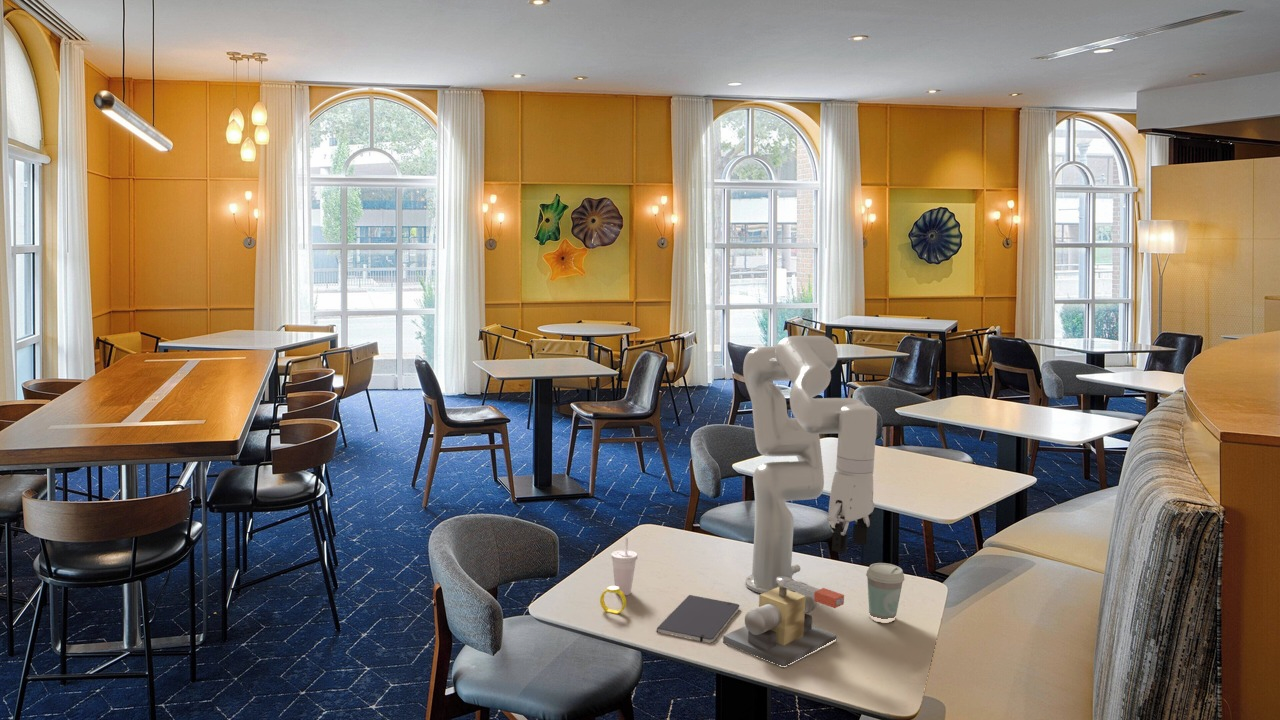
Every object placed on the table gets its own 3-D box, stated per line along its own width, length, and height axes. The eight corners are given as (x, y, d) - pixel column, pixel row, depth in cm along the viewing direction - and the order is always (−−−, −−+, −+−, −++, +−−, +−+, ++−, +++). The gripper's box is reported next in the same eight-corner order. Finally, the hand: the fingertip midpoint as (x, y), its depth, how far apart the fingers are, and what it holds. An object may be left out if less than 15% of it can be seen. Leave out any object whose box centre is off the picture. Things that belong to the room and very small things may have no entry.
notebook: (689, 600, 223) (656, 634, 204) (689, 594, 223) (656, 627, 204) (740, 610, 219) (711, 646, 199) (740, 604, 218) (712, 639, 199)
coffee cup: (880, 628, 210) (884, 577, 208) (855, 614, 217) (858, 564, 216) (909, 622, 214) (913, 572, 212) (883, 608, 221) (887, 560, 220)
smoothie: (625, 599, 221) (627, 542, 219) (604, 592, 225) (606, 536, 223) (641, 591, 226) (643, 536, 224) (620, 585, 230) (622, 530, 228)
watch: (599, 613, 214) (598, 588, 213) (604, 609, 216) (603, 584, 216) (623, 616, 211) (622, 591, 211) (627, 612, 214) (627, 586, 213)
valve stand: (776, 618, 213) (779, 566, 212) (836, 641, 202) (839, 586, 200) (723, 642, 200) (725, 586, 198) (783, 668, 189) (787, 609, 187)
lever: (772, 586, 199) (773, 577, 199) (781, 582, 202) (782, 573, 201) (834, 608, 188) (835, 598, 188) (843, 604, 191) (844, 595, 190)
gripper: (861, 455, 201) (856, 535, 203) (815, 467, 189) (810, 552, 191) (893, 462, 196) (887, 543, 198) (847, 475, 183) (841, 562, 186)
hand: (849, 547), depth 195 cm, fingers open, 7 cm apart
